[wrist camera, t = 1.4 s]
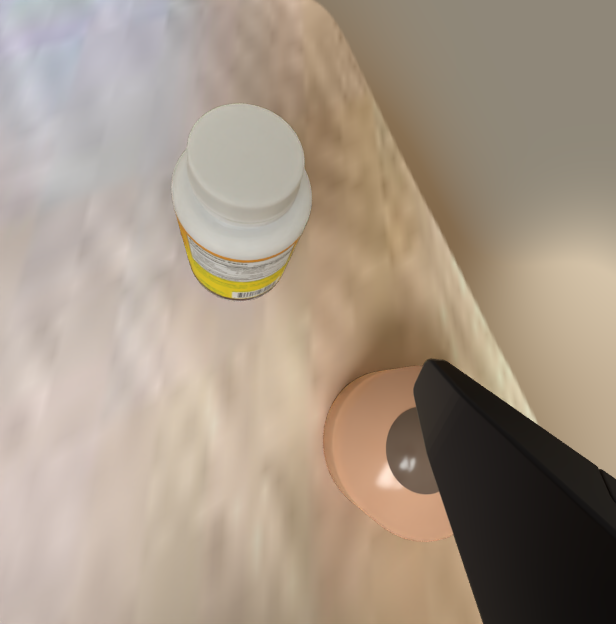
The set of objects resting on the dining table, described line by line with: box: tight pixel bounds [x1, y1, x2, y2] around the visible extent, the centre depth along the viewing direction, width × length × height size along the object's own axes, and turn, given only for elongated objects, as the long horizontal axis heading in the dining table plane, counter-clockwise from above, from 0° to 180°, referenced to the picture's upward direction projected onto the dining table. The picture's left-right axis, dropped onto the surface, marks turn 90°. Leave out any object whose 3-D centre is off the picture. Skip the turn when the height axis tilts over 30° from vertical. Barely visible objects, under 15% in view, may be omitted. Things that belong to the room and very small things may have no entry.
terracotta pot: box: [323, 366, 453, 542], centre depth 20 cm, size 8×8×4 cm
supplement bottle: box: [171, 103, 312, 301], centre depth 17 cm, size 6×6×10 cm
